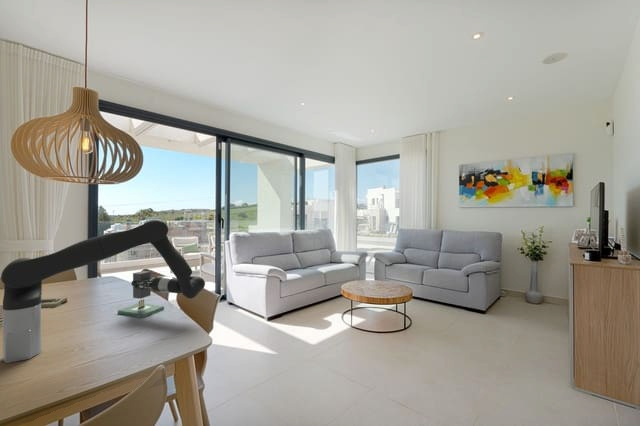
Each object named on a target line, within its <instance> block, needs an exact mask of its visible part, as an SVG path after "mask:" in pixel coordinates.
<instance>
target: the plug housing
mask: <svg viewBox="0 0 640 426" xmlns="http://www.w3.org/2000/svg"><path fill="white" fill-rule="evenodd" d="M150 278H151V271H147V270H141V271H137V272H133V273H132V281H143V280H150ZM151 290H152V288H144V289H137V288H135V286H132V298H133V299H140V300H142V299H144V298H147V297H150V296H151Z"/></svg>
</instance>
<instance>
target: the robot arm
mask: <svg viewBox="0 0 640 426" xmlns="http://www.w3.org/2000/svg"><path fill="white" fill-rule="evenodd" d="M168 233H169V226H168V225H167V224H166V222H164V221H163V220H160V219H151V220H147V221H145V222H144V223H143V224H141V225H138V226H135V227H133V228H130V229H126V230H123V231H116V232H111V233H106V234H101V235H98V236H94V237H91V238H87V239H85V240H82V241H79V242H76V243H73V244H72V245H70V246H67V247H65V248H63V249H60V250H58V251H55V252H52V253H51V254H47V255H43V256H39V257H35V258H30V257H21V258H17V259H15V260H12V261H11V262H10V263H8V264H7V265H6V266H5V267H4V269H3V270H2V272H1V274H0V280H1V282H2V283H3V285H4V287H3V289H4V291H3V299H2V361H3V362H4V363H5V364H9V363H15V362H21V361H25V360H29V359H30V360H31V359H32V358H33V357H35V356H38V355H39V354H40V353H41V352H42V351H41V350H42V307H41V299H42V290H43V289H42V287H43V286H42V285H43V283H42V281H43V280H45V279H48V278H50V277H53V276H55V275H58V274H60V273H63V272H66V271H71V270H74V269H78V268H80V267H85V266H89V265H91V264H94V263H98V262H102V261H103V260H107V259H109V258H111V257H113V256H117V255H119V254H121V253H124V252H126V251H128V250H131V249H133V248H136V247H138V246H142V245H146V244H149V243H150V244H151V245H152V246H153V248H155V249H156V251H158V253H159V254H160V256H161V257H162V259H163V260H164V262H165V263H166V264H167V266H168V267H169V269H170V270H171V272H172V274H173V275H174V276H164V275H157V276H155V277H150V280H143V281H133V280H132V281H131V286H132V287H133V286H135V288H137V289H144V288H151V290H153V291H154V292H156V293H165V294H166V293H167V294H168V293H169V294H182V295H183V296H184V297H185V298H186V299H190V300H192V299H194V298H195V297H196V296H198V294H200V292H201V291H202V290H203V289H204V288H205V286H206V282H205V280H204V279H203V277H200V276H198V275H197V276H196V275H194V276H192V274H193V269H192V267H191V266H190V265H189V264H188V262H187V260H186V259H185V258H184V257H183V256H182V254H181V253H180V252H179V250H177V249H176V248H175V246H174V245H173V244H172V243H171V241H170V240H169V237H168Z"/></svg>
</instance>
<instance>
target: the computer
mask: <svg viewBox="0 0 640 426" xmlns="http://www.w3.org/2000/svg"><path fill="white" fill-rule="evenodd" d="M67 303H68V298H67V297H51V298H50V297H48V298H47V297H46V298H43V297H41V308H55V307H56V308H57V307H60V306H62V305H64V304H67Z"/></svg>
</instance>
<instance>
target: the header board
mask: <svg viewBox="0 0 640 426" xmlns="http://www.w3.org/2000/svg"><path fill="white" fill-rule="evenodd" d="M162 309H163V310H164V309H165V306H164V305H158V304H152V303H151V304H149V303H145V299H144V298H142V299H140V300H139V301H138V303H136V304H132V305H130V306H126V307H123V308H121V309H119V310H117V314H118V315H119V314H120V315H124V316H130V315H131V316H130V317H137V316H139V317H138V318H143V317H144V318H146V317H149V316H151V315H153V314H152V313H154V314H155V312H156V313H158V312H160V311H159V310H161V311H163V310H162ZM157 311H158V312H157ZM150 314H151V315H150ZM148 315H149V316H148ZM145 316H146V317H145Z"/></svg>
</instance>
